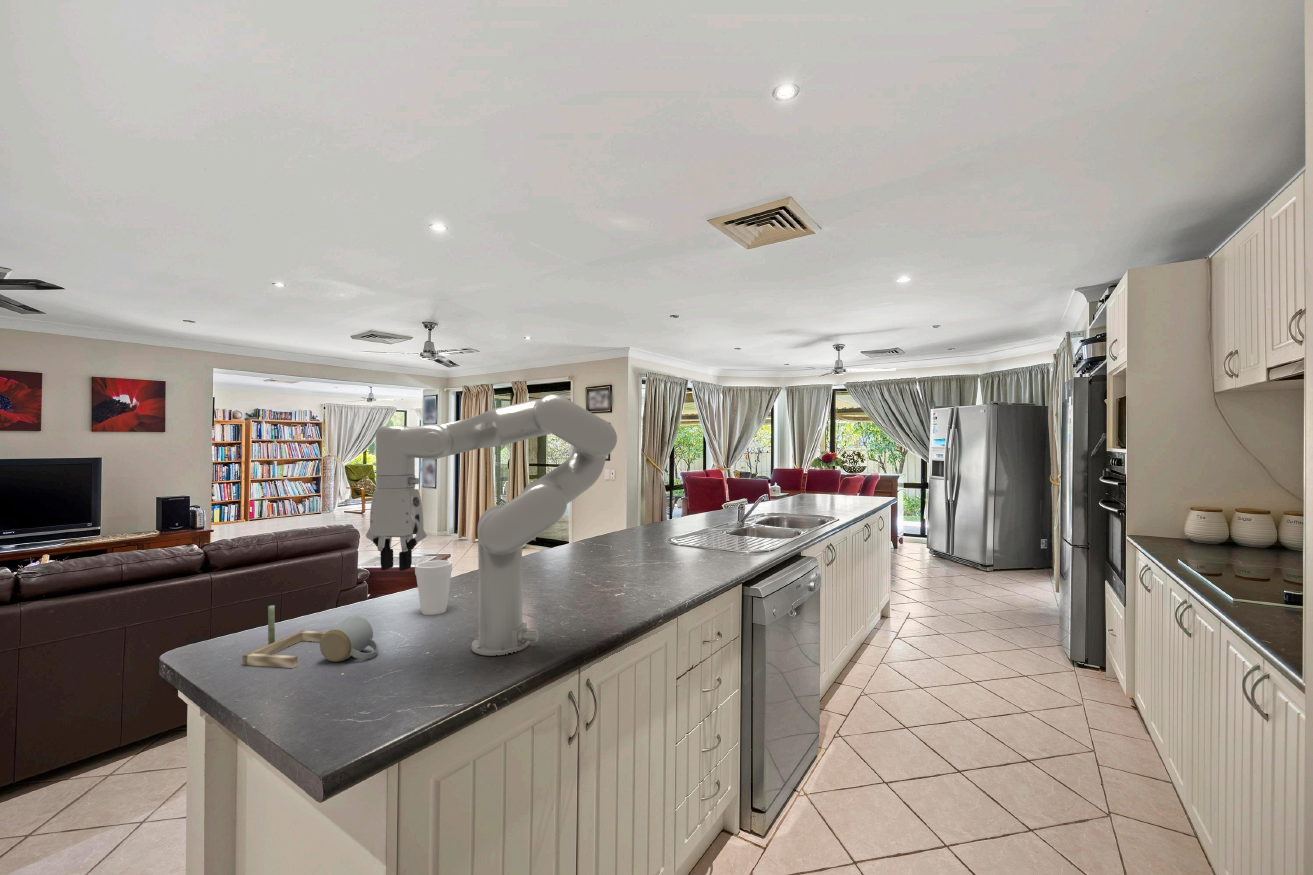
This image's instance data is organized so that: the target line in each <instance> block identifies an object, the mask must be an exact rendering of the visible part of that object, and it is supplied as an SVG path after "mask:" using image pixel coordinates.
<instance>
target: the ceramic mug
mask: <svg viewBox="0 0 1313 875" xmlns="http://www.w3.org/2000/svg"><path fill="white" fill-rule="evenodd" d="M325 632H326V633H325V634H324V635H323V637H322V638H321V641H320V642H319V649H320V653H321V654H322V656H323V657H324V658H325V659H326V660H328V661H331V662H334V663H337V662H338V663H339V662H342V661H345V660H347V659H349V658H351V657H353V658H355V659H357V660H370V659H373V658H374V657H376V656H377V654H378V651H379V644H378V643H377V642H376V641H375V640H374V639H373V637H374V631H373V627H372V625H371V623H370V622H369V620H367V619H365V618H364V617H362V616H358V615H353V616H348V617H347V618H345V619H344V620H342V621H340V622H339V623H337V624H336V625H335V626H332V627H331V628H330V629H328V630H327V631H325ZM368 647H370V648H372V649H373V650H374V651H372V652H361V651H363V650H365V649H366V648H368Z"/></svg>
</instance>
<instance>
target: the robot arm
mask: <svg viewBox="0 0 1313 875" xmlns="http://www.w3.org/2000/svg"><path fill="white" fill-rule="evenodd" d="M550 434H552V435H554V436H555V437H557V438H559V439H560V440H562V441H564V442H566V443H568V444H570V445H572V446H573V450H572V453H571V455H570V456H569V457H568V458H567V459H566V460H565V461H563V462H562V463H561V464H559V465H558V466H557V467H555V468H553V469H552V470H551V471H548V472H547V473H546V474H544V475H543V476H541V477H540V478H538V479H536V480H534V481H532V482H530V483H529V484H527V485H526V486H525V488H523V490H522V492H521V494H519V495H517V496H516V497H514V498H512V499H511V500H510V501H508V502H506V503H505V504H498V505H494V506H493V505H492V506H490V507H489V508H487V509H486V510H485V511H484V512H483V513H482V514H481V516H480V517H479V520H478V523H477V552H478V554H477V557H478V559H477V560H478V573H477V574H478V580H477V581H478V582H477V583H478V585H477V586H478V588H477V589H478V591H477V592H478V637H477V638H475V639H474V640H473V641H472V642H471V651H472V652H473V653H475V654H477V655H481V656H487V657H488V656H489V657H490V656H491V657H492V656H495V657H496V655H497V656H505V654H506V655H509V654H508V653H511V654H514V653H513V652H515V653H518V652H520V651H522V650H525V649H526V648H527V647H528V646H529V645H530V642H538V641H539V639H540V633H539V631H538V630H539V629H529V628H528V627H527V622H523V554H522V553H523V551H522V550H523V549H522V547H524V546H526V544H528V543H529V542H531V541H532V540H533V539H535V538H537V537H538V536H540V535H541V534H542V533H544V532H546V531H548V530H549V529H550V528H552V526H554V525H556V524H557V523H558V522H559V521H560V520H561V519H562V517H563V516H564V514H565V513H566V511H567V508H568V507H567V506H568V504H570V503H571V502H572V501H574V500H575V499H576V498H578V497H579V496H580V495H581V494H583V493H584V492H586V491H587V490H588V489H590V488H591V487H592V486H593V485H594V484H595V483H596V482H597V480H598V479H599V478H600V476H601V474H602V472H603V471H604V470H603V469H604V467H605V463H606V458H607V456H608V455H610V454H611V453H612V452H613V451H614V449H615V448H616V446H617V443H618V436H617V432H616V430H615V428H614V426H612V425H611V424H610V422H608V421H606V420H605V419H603V418H601V417H600V416H598V415H596V414H594V413H593V412H591V411H589V410H587V409H585V408H583V407H582V406H580V405H578V403H577V404H576V403H575V402H573V401H571V400H569V399H568V398H566V397H564V396H562V395H559V394H548V395H545V396H544V397H542V398H537V399H533V400H529V401H524V402H520V403H515V404H510V405H505V406H501V407H495V408H492V409H490V410H487V411H484V412H482V413H480V414H477V415H475V416H472V417H469V418H465V419H461V420H457V421H452V422H447V423H442V424H426V425H425V424H424V425H418V426H407V425H384V426H379V427H378V428H377V430H376V432H375V481H376V482H375V488H376V489H375V490H373V492H372V493H373V494H372V496H371V502H370V513H369V514H370V515H369V528H368V530H367V532H366V533H365V537H366V538H367V539H368V540H370V541H371V542H373V544H374V545H375V546H376V548H377V551H378V552H380V570H381V571H387V570H389V569H391V568H393V567H394V550H393V548H391V547H392V539H393V538H399V542H400V548H401V551H399V554H398V568H399V571H401V572H403V571H406V570H409V569H411V568H412V562H413V561H412V557H413V556H412V554H413V553H412V551H413V550H414V549H415V547H416V546H417V544H419V543H420V542H421V541H423V540H424V539H426V538H427V533H426V531H425V530H424V511H423V510H424V509H423V503H422V498H421V493H420V491H419V489H418V488H416V485H419V483H420V478H419V477H416V474H415V472H416V470H415V467H416V466H415V465H416V462H415V461H416V460H415V459H423V460H438V459H442V458H445V457H449V456H453V455H457V454H461V453H465V452H470V451H473V450H474V451H475V450H479V449H483V448H496V447H500V446H505V445H510V444H514V443H518V442H521V441H525V440H530V439H533V438H539V437H543V436H547V435H550ZM414 535H415V536H414ZM517 651H518V652H517Z"/></svg>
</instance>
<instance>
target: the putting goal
mask: <svg viewBox="0 0 1313 875" xmlns="http://www.w3.org/2000/svg"><path fill="white" fill-rule="evenodd" d="M275 607H276V605H274V604H273V605H267V618H268V619H267V639H268V640H267V644H266V645H264V646H261V647H259V648H257V649H254V650H252V651H249V652H247V653H245V654H242V655H241V656H242V666H255V667H267V668H268V667H271V668H286V669H294V668H296V667H297V666H298V655H286V654H285V655H284V654H283V655H282V654H276V653H278V652H281V651H282V650H283V651H284V650H285V649H287V648H289V647H288V646H290V647H292V646H294V645H296V644H295V643H297V644H299V643H301V642H309V641H312V642H313V641H314V642H313V643H320V641H321V638H322V637H323V635H324V634H325V633H326V632H327V631H315V630H300V631H296V632H295V633H292V634H290V635H288V636H287V635H286V636H285V637H283V638H280V639H278V640H276V637H275V636H276V634H275V633H276V630H275V628H276V619H275V618H276V617H275V616H276V614H275V612H276V611H275V610H276V609H275ZM275 640H276V641H275ZM300 641H301V642H300ZM298 642H299V643H298ZM293 644H294V645H293ZM291 645H292V646H291ZM286 647H287V648H286ZM284 648H285V649H284ZM280 650H281V651H280ZM273 653H274V654H273ZM271 654H272V655H271Z"/></svg>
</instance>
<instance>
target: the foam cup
mask: <svg viewBox="0 0 1313 875" xmlns="http://www.w3.org/2000/svg"><path fill="white" fill-rule="evenodd" d="M452 572H453V562H452V561H450V560H442V559H440V560H437V559H436V560H428V561H423V562H418V563H417V564H414V575H415V576H416V584H417V590H418V598H419V599H418V600H419V604H420V611H421V615H425V616H434V615H441V614H443V613H445V612H446V611H447V608H448V600H449V595H450V594H449V593H450V587H451V586H450V584H451V578H452Z"/></svg>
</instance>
